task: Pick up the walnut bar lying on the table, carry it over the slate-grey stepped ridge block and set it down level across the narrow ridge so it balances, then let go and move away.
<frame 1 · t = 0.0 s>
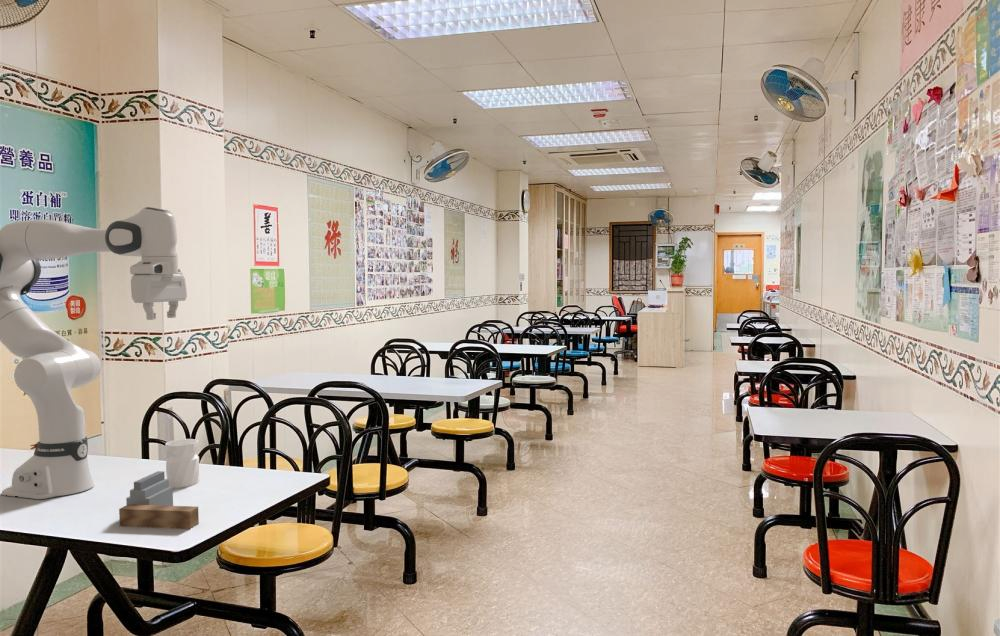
hand: (161, 318, 194), 48 cm above the table, tool pointing down, fingers open, 8 cm apart
walnut bar: (159, 526, 171), on the table
ridge block: (150, 511, 181), on the table
vase: (183, 484, 206), on the table
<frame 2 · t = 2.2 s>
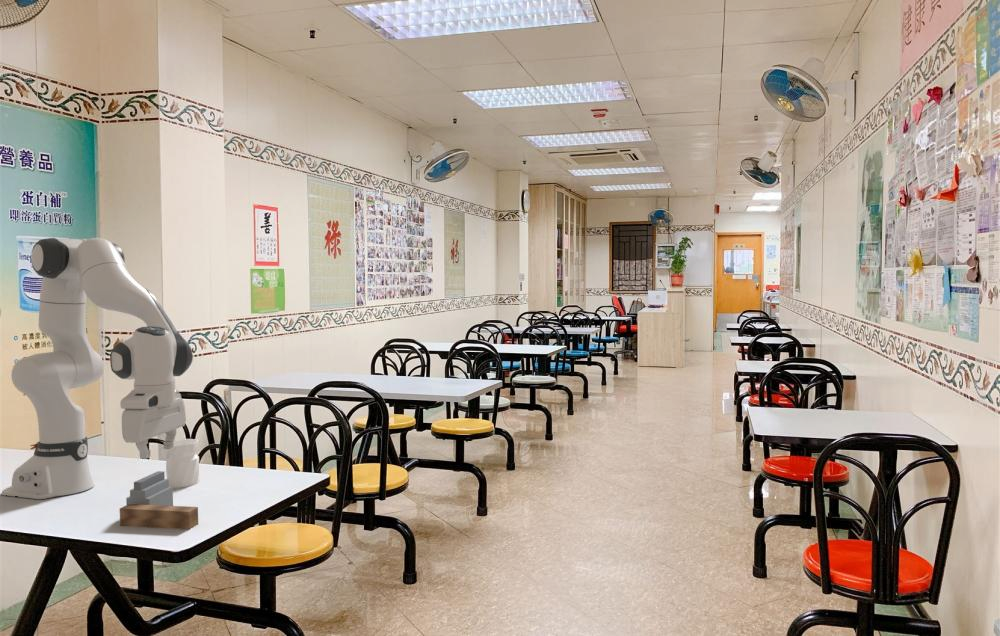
hand: (157, 453, 170), 17 cm above the table, tool pointing down, fingers open, 8 cm apart
nothing on the table moved.
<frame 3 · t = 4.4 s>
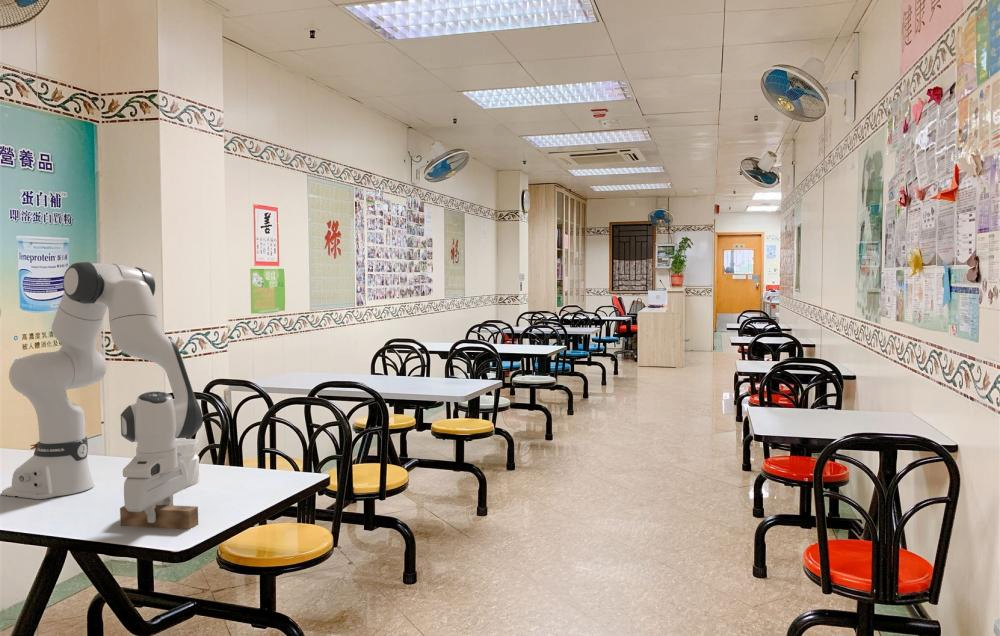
hand: (159, 518, 171), 2 cm above the table, tool pointing down, fingers closed on walnut bar, 4 cm apart
walnut bar: (159, 525, 171), on the table, touching gripper
everything else where it was.
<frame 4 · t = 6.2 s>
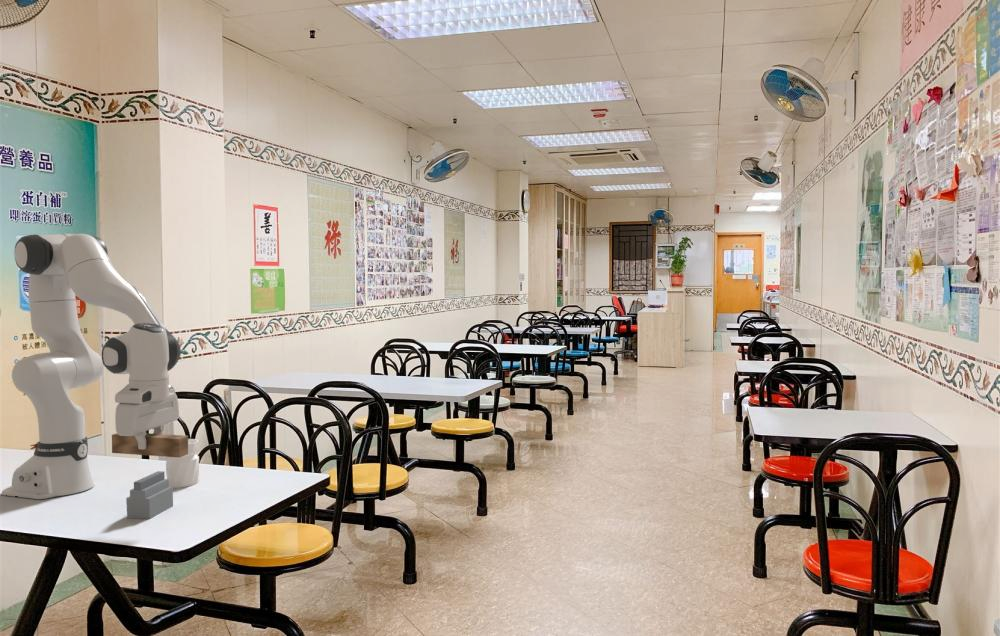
hand: (149, 446, 175), 18 cm above the table, tool pointing down, fingers closed on walnut bar, 4 cm apart
walnut bar: (150, 453, 175), point 16 cm above the table, touching gripper
everything else where it was.
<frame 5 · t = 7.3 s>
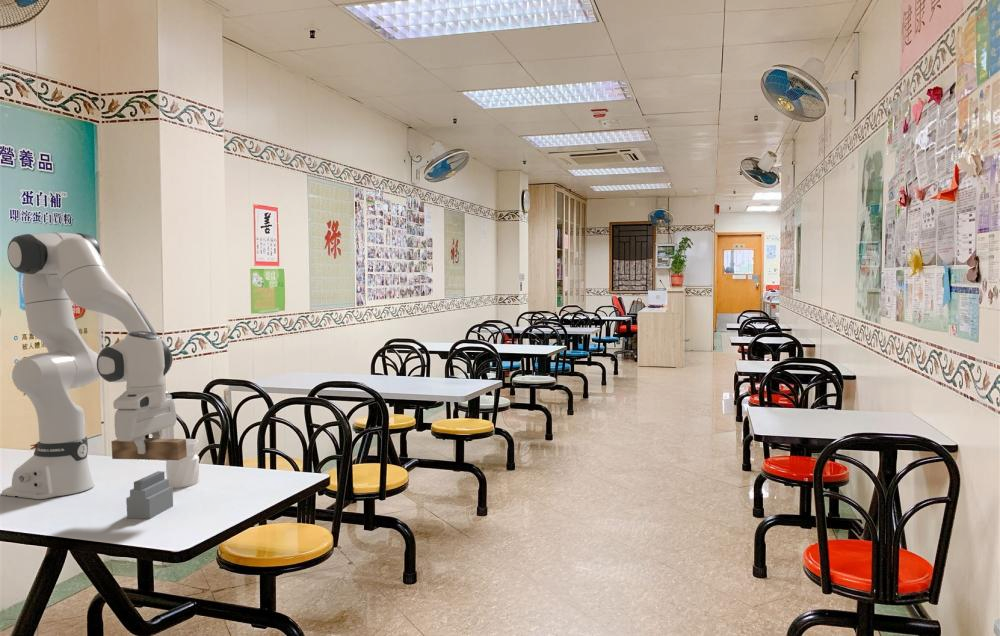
hand: (148, 451, 180), 16 cm above the table, tool pointing down, fingers closed on walnut bar, 4 cm apart
walnut bar: (149, 457, 180), point 14 cm above the table, touching gripper
everything else where it was.
when the fingers open (11 cm above the table, at t = 8.3 s): walnut bar stays where it is, resting on ridge block.
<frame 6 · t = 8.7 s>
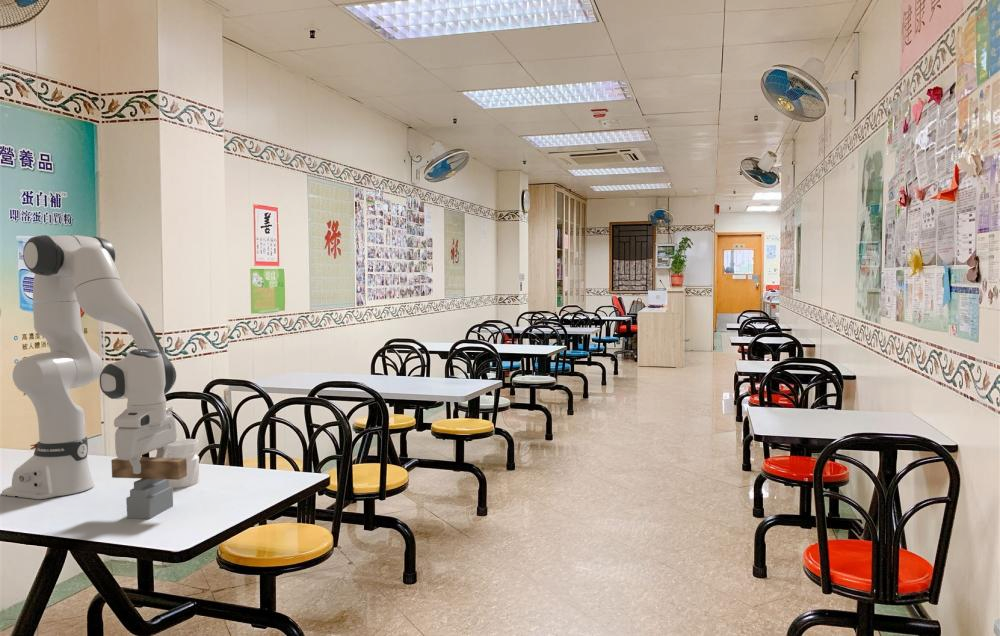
hand: (149, 468, 180), 11 cm above the table, tool pointing down, fingers open, 7 cm apart
walnut bar: (149, 476, 180), point 9 cm above the table, touching ridge block
everything else where it was.
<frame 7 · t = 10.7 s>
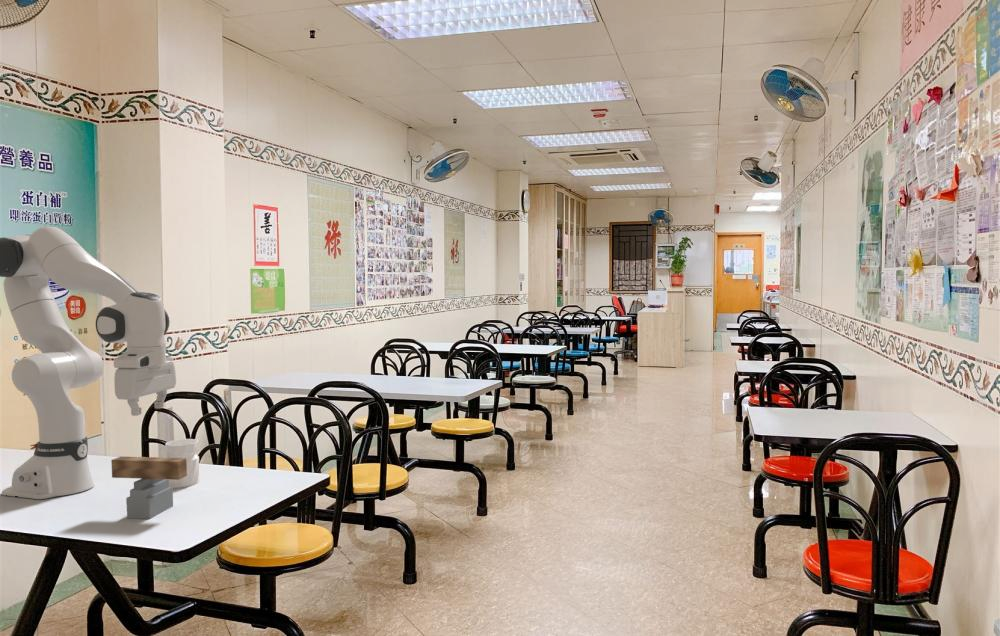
hand: (148, 411, 181), 25 cm above the table, tool pointing down, fingers open, 8 cm apart
nothing on the table moved.
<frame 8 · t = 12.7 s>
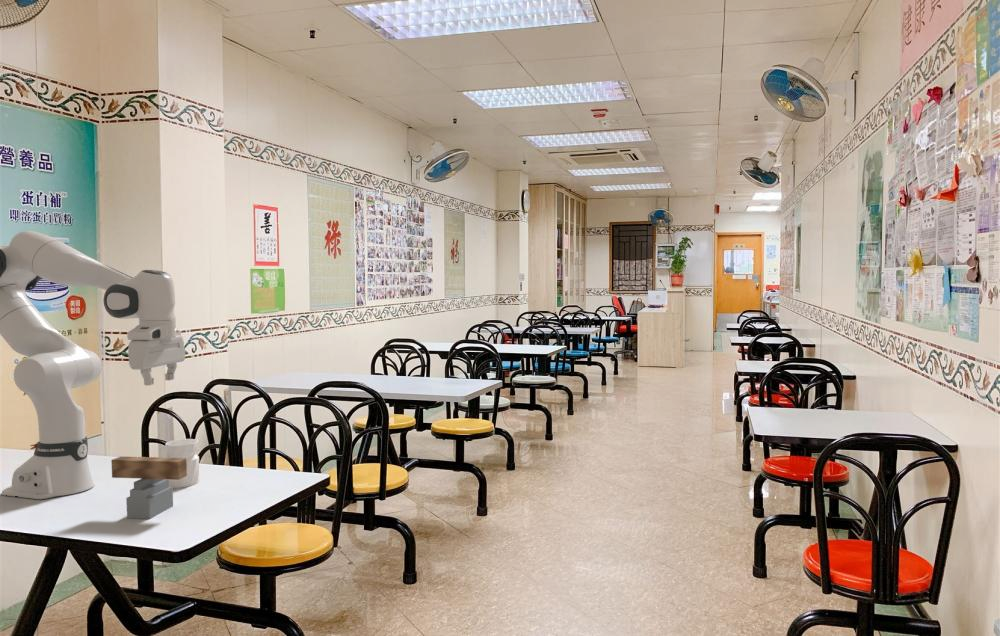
hand: (159, 382, 191), 31 cm above the table, tool pointing down, fingers open, 8 cm apart
nothing on the table moved.
at the end: walnut bar 0.0 cm off-centre on the ridge block, point 9.0 cm above the ridge block's base; walnut bar tilted 0°; walnut bar touching ridge block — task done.
